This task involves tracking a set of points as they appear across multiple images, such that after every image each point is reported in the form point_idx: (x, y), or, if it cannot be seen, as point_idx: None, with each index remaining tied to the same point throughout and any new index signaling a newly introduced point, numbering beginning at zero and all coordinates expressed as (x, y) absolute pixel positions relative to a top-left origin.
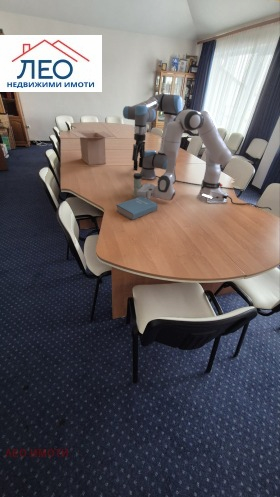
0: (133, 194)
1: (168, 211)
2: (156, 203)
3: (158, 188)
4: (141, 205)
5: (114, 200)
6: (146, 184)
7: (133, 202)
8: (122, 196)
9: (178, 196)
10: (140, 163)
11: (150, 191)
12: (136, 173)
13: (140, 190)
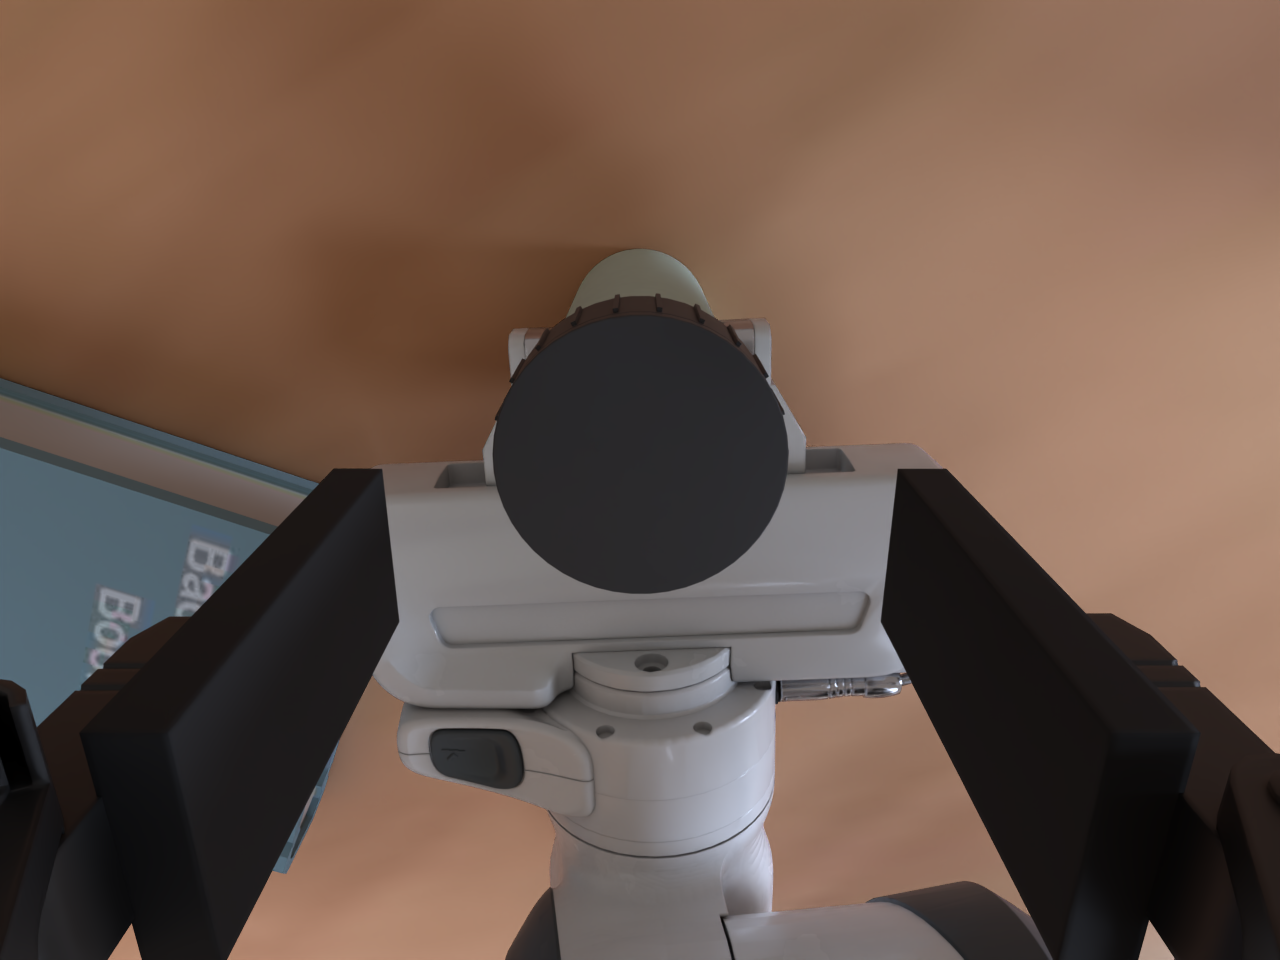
0: (590, 273)
1: (410, 914)
2: (279, 869)
3: (530, 922)
4: (35, 722)
5: (161, 23)
6: (833, 524)
7: (24, 571)
8: (443, 69)
9: (989, 887)
10: (948, 631)
11: (435, 770)
12: (711, 382)
13: (407, 560)
